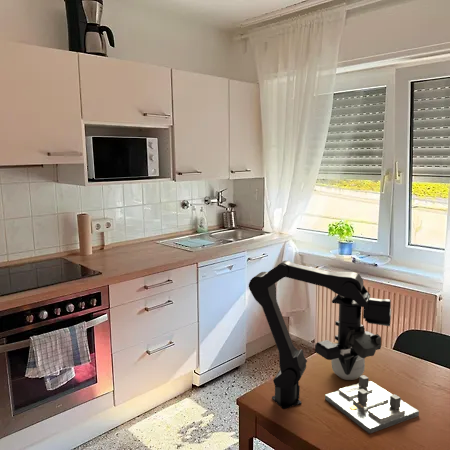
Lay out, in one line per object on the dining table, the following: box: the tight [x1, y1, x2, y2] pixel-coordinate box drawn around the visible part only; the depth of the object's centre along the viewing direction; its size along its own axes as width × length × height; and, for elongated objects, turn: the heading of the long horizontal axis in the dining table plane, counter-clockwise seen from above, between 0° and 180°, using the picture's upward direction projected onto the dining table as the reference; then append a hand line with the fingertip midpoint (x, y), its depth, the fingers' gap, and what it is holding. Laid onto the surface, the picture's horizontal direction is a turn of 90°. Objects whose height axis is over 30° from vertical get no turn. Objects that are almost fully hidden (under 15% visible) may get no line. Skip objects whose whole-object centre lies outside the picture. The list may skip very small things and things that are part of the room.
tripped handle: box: [357, 389, 368, 404], centre depth 119 cm, size 2×2×3 cm
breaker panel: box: [324, 380, 420, 434], centre depth 120 cm, size 18×18×3 cm
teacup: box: [330, 356, 366, 381], centre depth 139 cm, size 14×11×8 cm
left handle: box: [358, 374, 370, 388], centre depth 127 cm, size 2×2×3 cm
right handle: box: [390, 393, 402, 409], centre depth 116 cm, size 2×2×3 cm
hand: (347, 374), depth 115 cm, fingers closed
